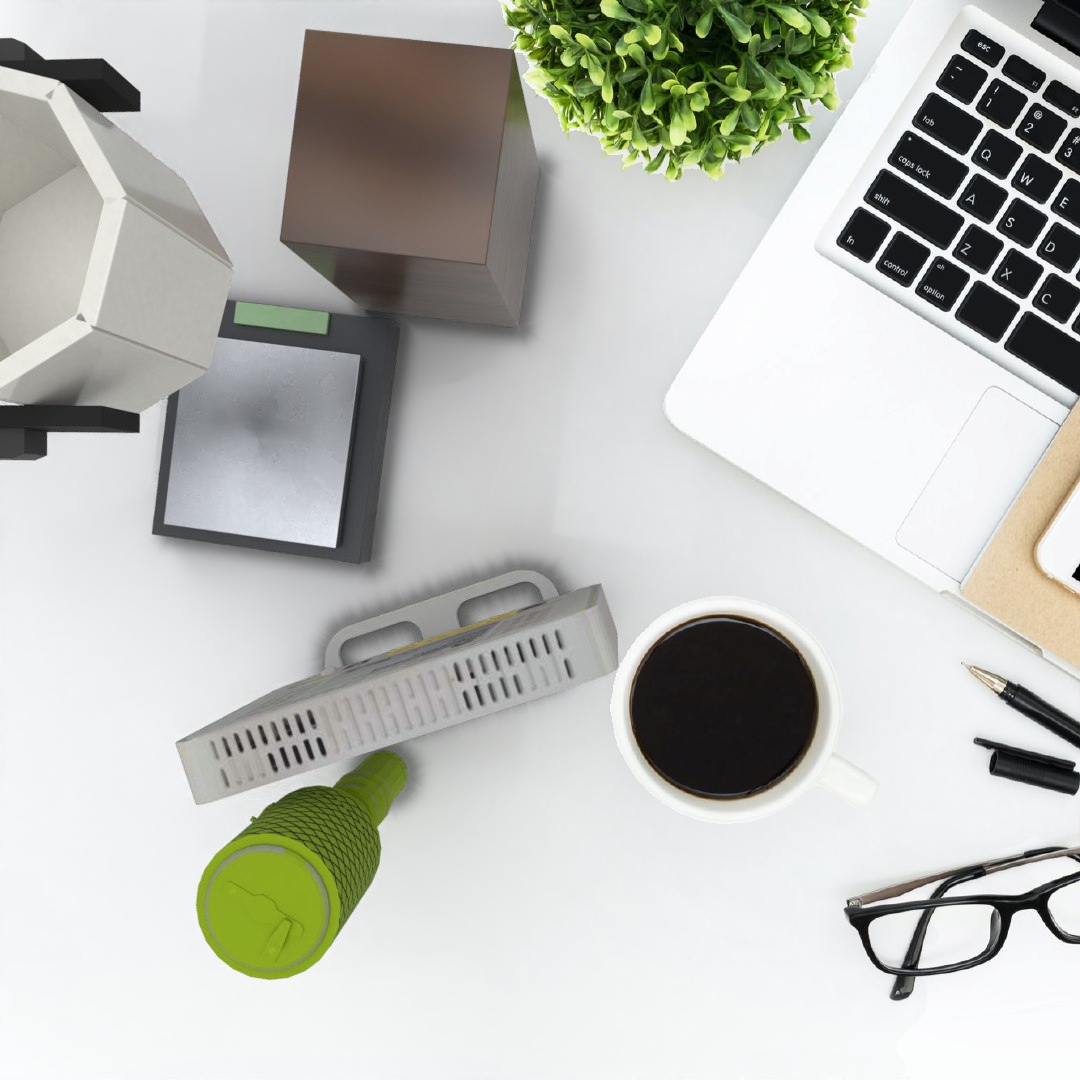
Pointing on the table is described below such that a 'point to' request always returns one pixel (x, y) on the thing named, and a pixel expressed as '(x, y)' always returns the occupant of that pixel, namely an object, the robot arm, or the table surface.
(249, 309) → the scale
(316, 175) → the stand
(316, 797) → the microphone
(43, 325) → the cup
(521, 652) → the network device
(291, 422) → the scale pan
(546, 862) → the table surface
